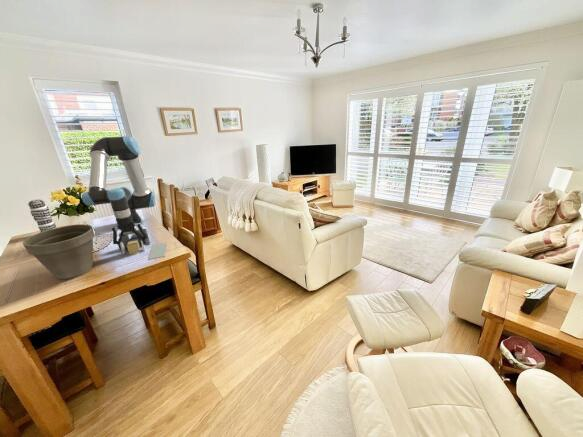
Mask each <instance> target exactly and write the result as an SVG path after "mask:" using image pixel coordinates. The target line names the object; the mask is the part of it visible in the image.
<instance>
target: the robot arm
mask: <svg viewBox="0 0 583 437" xmlns="http://www.w3.org/2000/svg"><path fill="white" fill-rule="evenodd" d="M140 154H141V148H140V147H139V144H138V142H137V141H136V139H135V138H134V137H133V136H111V137H110V136H106V137H102V138H100V139H98V140H97V141H96V142H94V143H93V145H92V146H91V147H90V150H89V157H90V159H91V162H90V172H89V173H90V174H89V182H88V183H89V185H88V191H86V192H83V193H82V195H81V199H82V202H83V204H85V205H86V206H97V205H105V204H110V207H111V209H112V213H113V215H114V218H115V222H116V224H117V226H112V228H111V231H112V244H113V245H117V246H118V249H119V250H121V252H122V254H123V255H126V253H127V252H126V251H127V250H126V249H125V248H124V245H123V242H122V243H121V240H122V237H123V234H124V232H125V233H126V232H131V231H132V232H133V233H134V234H136V235H137V236H138V237H139V238H140V239H141V244H142V245H141V248H142V251H146V246H147V245H146V241H145V239H147V237H148V236H149V235H148V236H147V234H146V233H145V231H144V230H143V229H144V228H143V226H142V218H141V216H140V215H139V213H138V212H137V211H136V210H139V209H140V210H141V209H149V208H154V207H155V205H156V195H155V192H154V191H151V188H148V186H147V184H146V183H147V182H146V181H145V178H144V175H143V172H142V169H141V167H140V164H139V161H138V158H139V155H140ZM112 157H117V158H118V160H119V161H121V162H122V164H123V166H124V168H125V171H126V173H127V174H126V175H128V179H129V181H130V184H131V187H132V189H133V191H132V190H131V188H129V187H126V186H121V187H115V188H112V189H111V188H110V189H107V176H108V175H107V174H108V173H107V172H108V162H109V161H110V158H112ZM135 227H136V228H138V229H136V228H135ZM118 230H120V232H119V233H120V237H119V236H118ZM137 230H140V232H141V233H142V235H141V234H140V233H139V232H138V231H137ZM145 245H146V246H145Z"/></svg>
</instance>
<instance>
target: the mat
mask: <svg viewBox="0 0 583 437" xmlns="http://www.w3.org/2000/svg"><path fill="white" fill-rule="evenodd" d="M167 244H168V243H167V242H161V243H157V244H152V246H151V250H150V253H149V256H148V261H150V260H155V259H159V258H164V257H165V256H166V252H167Z"/></svg>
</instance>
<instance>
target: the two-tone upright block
mask: <svg viewBox="0 0 583 437" xmlns="http://www.w3.org/2000/svg"><path fill="white" fill-rule="evenodd" d="M129 239H130V240H129V242H128V244H127V248H128V249H127V250H128V254H129V255H136V254H140V251H141V248H142V244H141V239H140V238H139V237H138V236H137V235H136V234H131V236H130V237H129Z"/></svg>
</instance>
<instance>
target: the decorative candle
mask: <svg viewBox="0 0 583 437" xmlns="http://www.w3.org/2000/svg"><path fill="white" fill-rule="evenodd" d="M27 205H28V207H29V209H30V210H29V212H30V215H31V217H33V220H34V221H35V222H36V224H37V226H38V227H37V228H38V229H39V231H40V233H41V232H44V231H47V230H50V229H54V228H57V225H56V223H55V222H54V220H53V219H52V218H53V216H52V217H50V216H51V215H50V214H51V211H50V209H49V206H47V205H46V203H45V201H44V200H43V199H33V200H30V201H28V203H27Z"/></svg>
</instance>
